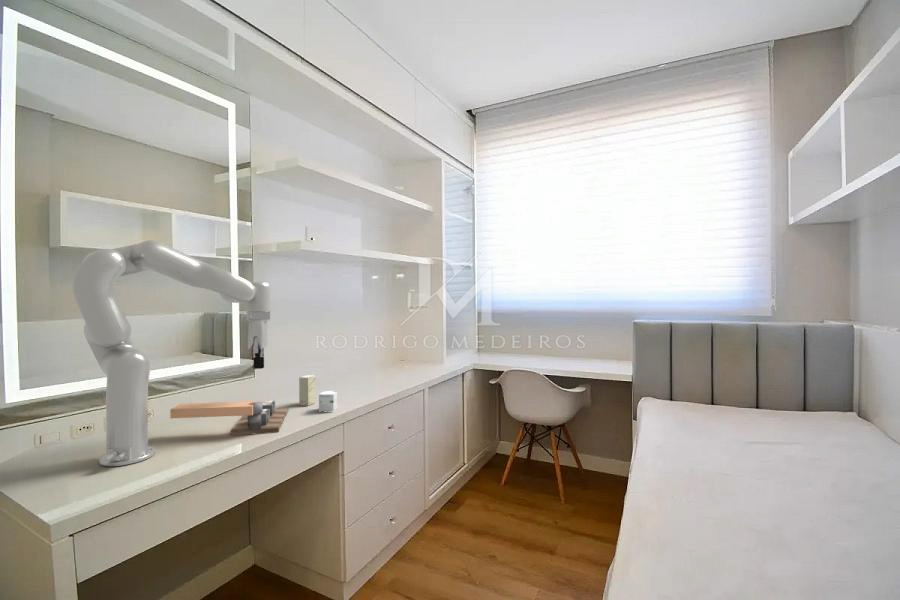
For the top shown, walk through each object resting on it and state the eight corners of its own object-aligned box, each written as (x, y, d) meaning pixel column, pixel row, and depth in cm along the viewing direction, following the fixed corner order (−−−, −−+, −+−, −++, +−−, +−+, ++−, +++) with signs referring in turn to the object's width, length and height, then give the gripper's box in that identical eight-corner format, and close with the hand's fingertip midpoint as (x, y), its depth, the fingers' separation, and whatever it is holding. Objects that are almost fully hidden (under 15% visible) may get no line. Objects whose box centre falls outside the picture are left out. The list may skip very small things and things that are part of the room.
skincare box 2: (318, 412, 166) (318, 394, 166) (322, 408, 172) (322, 390, 172) (333, 412, 166) (333, 394, 166) (337, 408, 172) (337, 390, 172)
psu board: (278, 432, 141) (278, 413, 141) (229, 436, 138) (229, 416, 138) (288, 411, 167) (288, 394, 167) (248, 413, 164) (248, 397, 164)
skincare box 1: (308, 406, 175) (308, 377, 175) (298, 405, 176) (298, 377, 176) (315, 402, 181) (315, 374, 181) (306, 402, 182) (306, 374, 182)
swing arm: (265, 409, 145) (265, 400, 145) (259, 415, 138) (259, 406, 138) (181, 412, 141) (181, 403, 141) (170, 418, 134) (170, 409, 134)
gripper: (251, 315, 153) (251, 365, 153) (242, 317, 138) (242, 372, 139) (273, 315, 155) (273, 364, 155) (266, 317, 140) (266, 371, 141)
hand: (258, 368), depth 147 cm, fingers closed
